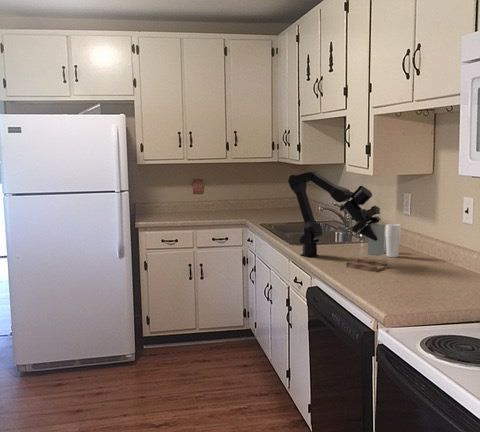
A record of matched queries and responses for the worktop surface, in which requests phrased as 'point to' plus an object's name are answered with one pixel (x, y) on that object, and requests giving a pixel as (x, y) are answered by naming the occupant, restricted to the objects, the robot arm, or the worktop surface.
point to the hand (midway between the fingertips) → (379, 239)
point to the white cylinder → (393, 239)
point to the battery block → (377, 246)
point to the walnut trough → (367, 265)
